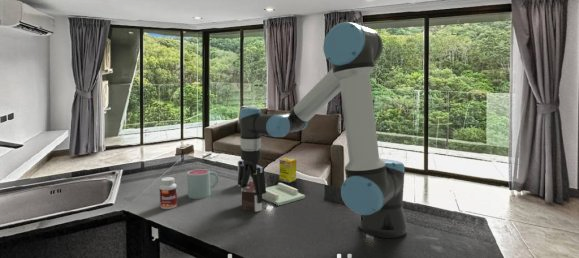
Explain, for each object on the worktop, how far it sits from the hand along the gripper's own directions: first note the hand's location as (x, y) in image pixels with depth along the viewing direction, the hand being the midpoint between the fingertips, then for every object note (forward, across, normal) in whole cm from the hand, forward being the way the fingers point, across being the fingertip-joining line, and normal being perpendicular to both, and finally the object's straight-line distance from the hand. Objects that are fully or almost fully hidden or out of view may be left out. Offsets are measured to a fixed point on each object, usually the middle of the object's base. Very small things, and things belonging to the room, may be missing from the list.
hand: (251, 207), depth 126 cm
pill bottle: (0, +21, +24) cm, 32 cm away
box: (+1, 0, 0) cm, 1 cm away
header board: (0, +4, -16) cm, 16 cm away
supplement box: (+1, +17, -32) cm, 36 cm away
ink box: (+1, +24, -14) cm, 28 cm away
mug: (+1, +26, +7) cm, 27 cm away
